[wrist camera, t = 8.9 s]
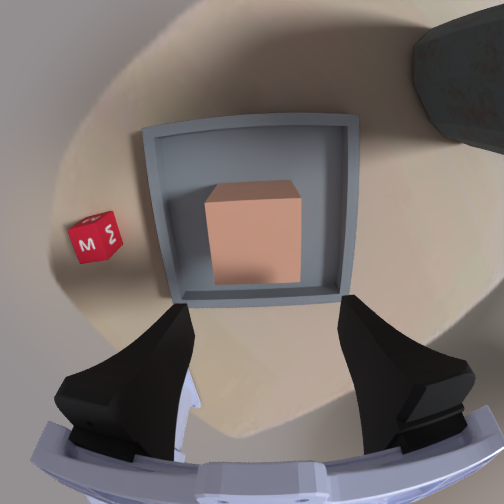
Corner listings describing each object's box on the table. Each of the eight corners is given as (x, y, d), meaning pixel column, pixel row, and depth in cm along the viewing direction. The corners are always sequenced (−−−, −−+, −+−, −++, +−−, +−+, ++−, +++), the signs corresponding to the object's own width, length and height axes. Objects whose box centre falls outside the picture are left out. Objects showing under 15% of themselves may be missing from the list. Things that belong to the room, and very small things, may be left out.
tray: (179, 295, 24) (174, 308, 22) (151, 127, 18) (141, 128, 16) (342, 289, 23) (348, 301, 21) (350, 115, 17) (359, 114, 15)
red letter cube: (113, 210, 20) (95, 222, 18) (123, 243, 22) (107, 259, 19) (86, 217, 21) (67, 229, 18) (96, 248, 22) (80, 264, 19)
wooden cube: (224, 249, 21) (215, 285, 16) (218, 183, 19) (204, 202, 14) (291, 246, 21) (300, 282, 16) (291, 180, 19) (301, 198, 14)
